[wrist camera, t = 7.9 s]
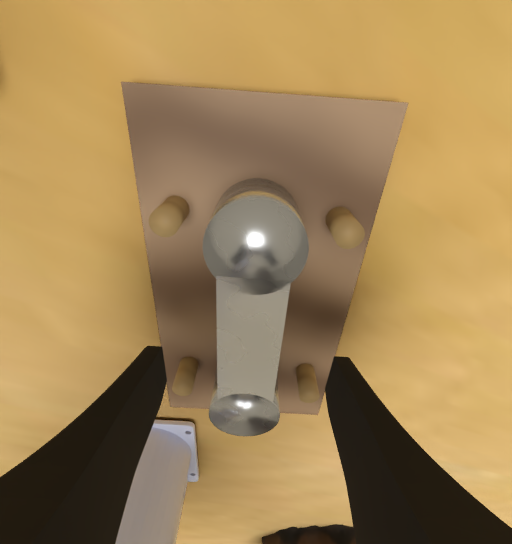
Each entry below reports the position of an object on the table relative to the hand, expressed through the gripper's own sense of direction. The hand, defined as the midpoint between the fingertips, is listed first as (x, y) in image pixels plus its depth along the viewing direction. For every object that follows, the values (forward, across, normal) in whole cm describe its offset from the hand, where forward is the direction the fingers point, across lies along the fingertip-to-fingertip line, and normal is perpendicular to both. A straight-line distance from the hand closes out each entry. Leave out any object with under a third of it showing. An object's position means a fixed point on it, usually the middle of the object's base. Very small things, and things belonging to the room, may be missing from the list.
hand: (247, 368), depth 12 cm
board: (+6, 0, 0) cm, 6 cm away
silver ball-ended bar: (+4, 0, 0) cm, 5 cm away
